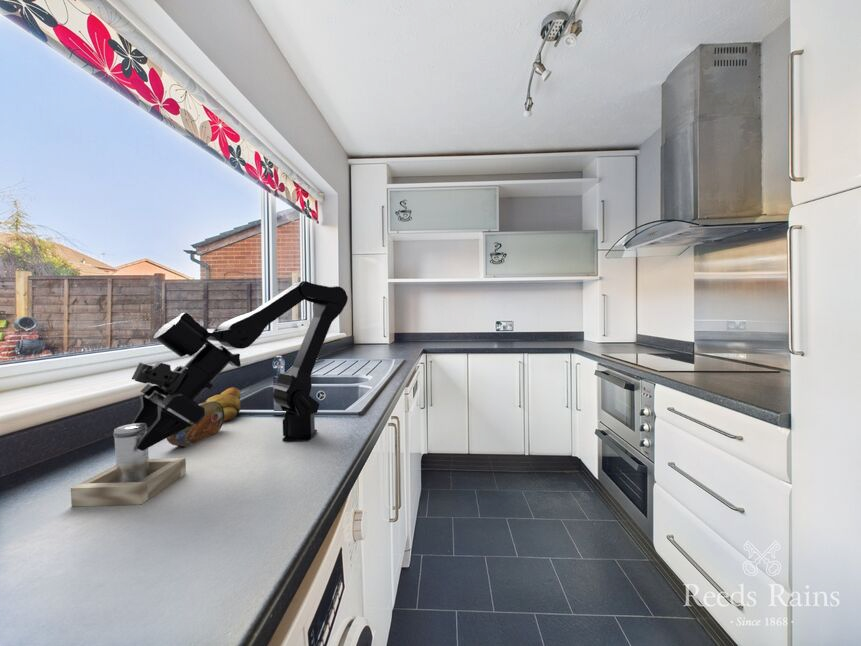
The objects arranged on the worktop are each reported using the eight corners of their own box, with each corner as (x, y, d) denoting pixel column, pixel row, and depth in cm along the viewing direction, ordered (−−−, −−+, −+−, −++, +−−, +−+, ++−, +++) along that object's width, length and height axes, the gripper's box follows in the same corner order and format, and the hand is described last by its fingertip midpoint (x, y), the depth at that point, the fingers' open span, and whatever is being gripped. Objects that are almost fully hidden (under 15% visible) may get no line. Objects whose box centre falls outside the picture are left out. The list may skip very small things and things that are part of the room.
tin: (174, 452, 79) (173, 414, 79) (163, 451, 80) (161, 414, 80) (226, 429, 94) (225, 397, 94) (216, 428, 95) (214, 397, 94)
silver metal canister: (156, 485, 64) (152, 424, 64) (125, 497, 60) (121, 433, 60) (142, 480, 66) (138, 421, 66) (111, 491, 62) (107, 429, 62)
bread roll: (241, 421, 101) (240, 393, 101) (201, 427, 96) (199, 397, 96) (241, 410, 112) (240, 384, 112) (204, 415, 108) (203, 388, 107)
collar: (186, 473, 69) (185, 457, 69) (140, 504, 58) (139, 486, 58) (128, 474, 68) (127, 459, 68) (71, 506, 57) (70, 488, 57)
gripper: (151, 343, 72) (78, 409, 64) (180, 348, 60) (95, 431, 52) (197, 375, 79) (136, 439, 71) (232, 386, 67) (163, 465, 59)
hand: (133, 443), depth 63 cm, fingers open, 9 cm apart
